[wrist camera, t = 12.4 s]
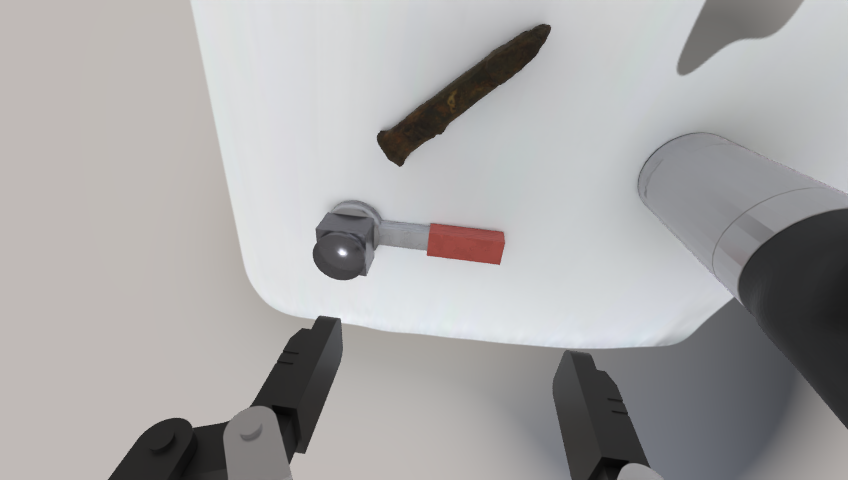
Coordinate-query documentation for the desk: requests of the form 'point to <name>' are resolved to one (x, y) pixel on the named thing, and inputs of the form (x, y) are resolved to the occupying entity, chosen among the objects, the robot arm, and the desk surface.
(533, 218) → the desk surface
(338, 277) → the block with domed cap
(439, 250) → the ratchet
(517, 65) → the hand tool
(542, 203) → the desk surface
